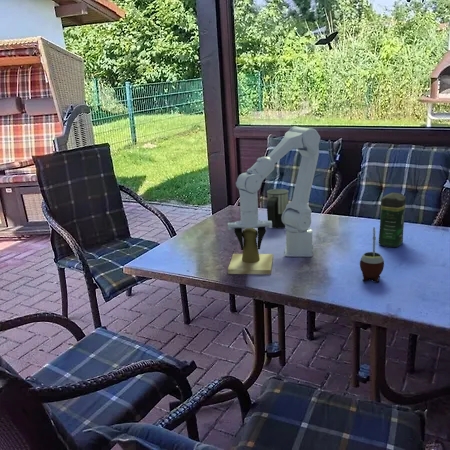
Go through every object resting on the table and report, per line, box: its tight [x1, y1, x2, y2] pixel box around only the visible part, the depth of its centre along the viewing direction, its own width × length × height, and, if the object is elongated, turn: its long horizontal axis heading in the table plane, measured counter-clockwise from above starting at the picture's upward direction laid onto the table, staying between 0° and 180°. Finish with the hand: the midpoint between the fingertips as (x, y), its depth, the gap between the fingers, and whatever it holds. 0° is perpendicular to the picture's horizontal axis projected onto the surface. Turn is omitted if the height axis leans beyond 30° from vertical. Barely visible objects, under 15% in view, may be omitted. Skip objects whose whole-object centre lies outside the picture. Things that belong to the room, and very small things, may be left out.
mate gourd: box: [359, 227, 385, 284], centre depth 149 cm, size 8×8×15 cm
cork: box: [241, 228, 260, 263], centre depth 165 cm, size 6×6×11 cm
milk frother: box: [266, 188, 290, 229], centre depth 200 cm, size 14×16×15 cm
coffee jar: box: [378, 192, 407, 248], centre depth 176 cm, size 10×8×19 cm
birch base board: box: [227, 253, 274, 275], centre depth 166 cm, size 14×14×2 cm
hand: (250, 248), depth 164 cm, fingers closed on cork, 5 cm apart
